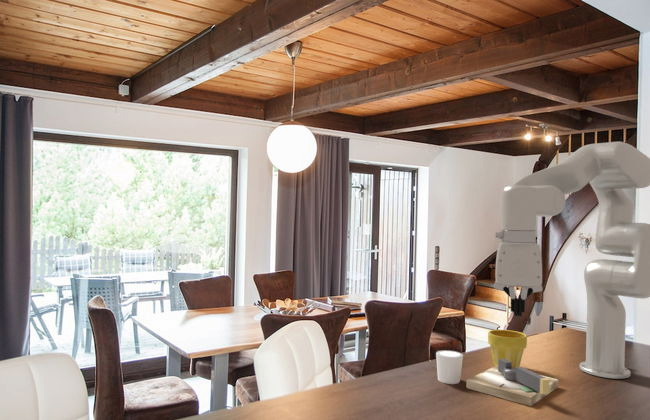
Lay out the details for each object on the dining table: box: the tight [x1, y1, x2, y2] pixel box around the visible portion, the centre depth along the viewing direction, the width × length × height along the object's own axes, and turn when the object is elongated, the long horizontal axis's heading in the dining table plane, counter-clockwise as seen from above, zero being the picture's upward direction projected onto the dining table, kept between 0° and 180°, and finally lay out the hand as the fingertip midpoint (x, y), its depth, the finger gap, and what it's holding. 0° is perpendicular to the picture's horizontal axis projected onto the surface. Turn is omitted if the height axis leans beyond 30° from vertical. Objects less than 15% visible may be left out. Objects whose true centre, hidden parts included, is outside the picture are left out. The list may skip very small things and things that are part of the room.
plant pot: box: [487, 329, 528, 368], centre depth 143 cm, size 10×10×10 cm
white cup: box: [435, 349, 464, 385], centre depth 131 cm, size 7×7×7 cm
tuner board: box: [466, 365, 559, 407], centre depth 127 cm, size 18×16×2 cm
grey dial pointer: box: [498, 359, 550, 395], centre depth 124 cm, size 16×4×3 cm, turn 17°
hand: (517, 315), depth 119 cm, fingers closed
